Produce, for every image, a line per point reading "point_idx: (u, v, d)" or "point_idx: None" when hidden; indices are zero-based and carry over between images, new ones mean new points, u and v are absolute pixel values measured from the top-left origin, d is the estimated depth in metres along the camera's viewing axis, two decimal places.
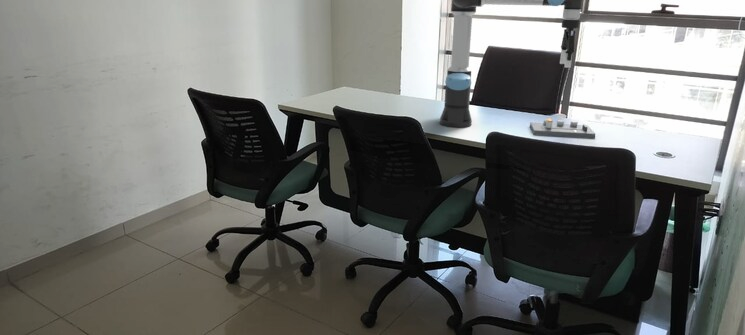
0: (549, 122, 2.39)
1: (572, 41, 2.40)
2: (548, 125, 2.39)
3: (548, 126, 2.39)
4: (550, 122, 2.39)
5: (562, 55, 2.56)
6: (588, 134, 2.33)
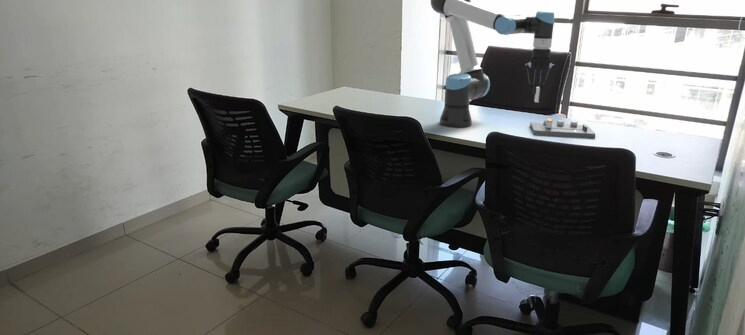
0: (549, 122, 2.39)
1: (528, 75, 2.35)
2: (548, 125, 2.39)
3: (548, 126, 2.39)
4: (550, 122, 2.39)
5: None
6: (588, 134, 2.33)
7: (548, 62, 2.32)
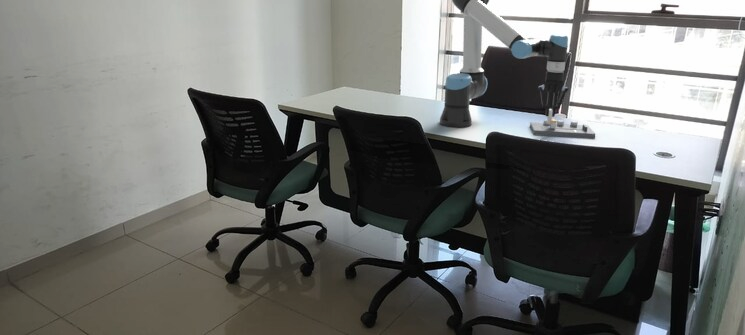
0: (553, 122, 2.38)
1: (541, 97, 2.37)
2: (552, 125, 2.39)
3: (552, 126, 2.39)
4: (554, 122, 2.38)
5: None
6: (588, 134, 2.33)
7: (561, 85, 2.34)
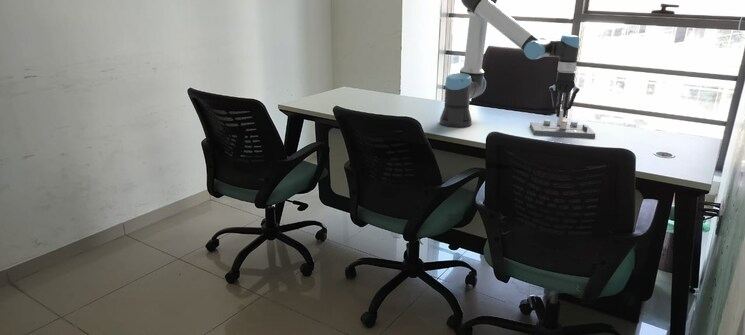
0: (564, 123, 2.38)
1: (552, 98, 2.37)
2: (563, 126, 2.38)
3: (563, 127, 2.38)
4: (565, 123, 2.38)
5: None
6: (588, 134, 2.33)
7: (572, 85, 2.33)
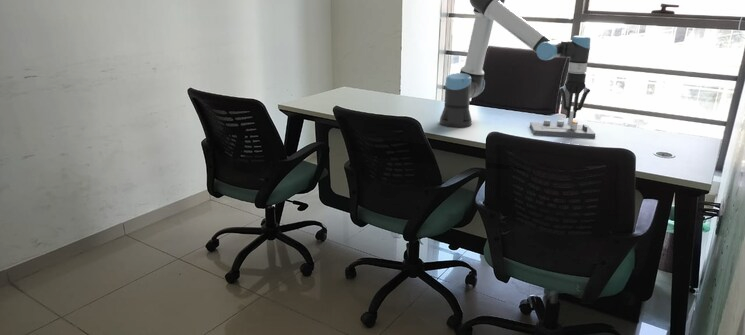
0: (574, 123, 2.37)
1: (562, 98, 2.36)
2: (573, 126, 2.37)
3: (573, 127, 2.38)
4: (575, 123, 2.37)
5: None
6: (588, 134, 2.33)
7: (583, 86, 2.32)
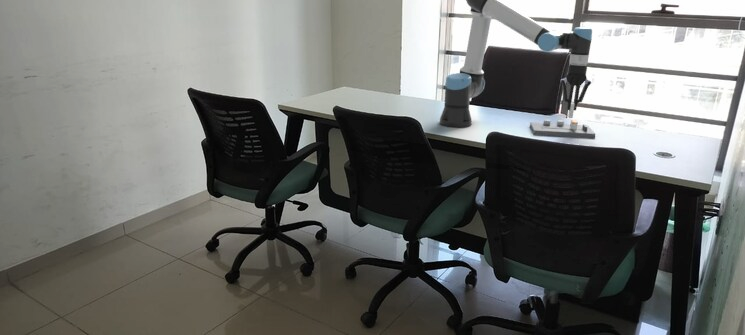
0: (574, 123, 2.37)
1: (563, 90, 2.35)
2: (573, 126, 2.37)
3: (573, 127, 2.38)
4: (575, 123, 2.37)
5: None
6: (588, 134, 2.33)
7: (584, 78, 2.31)
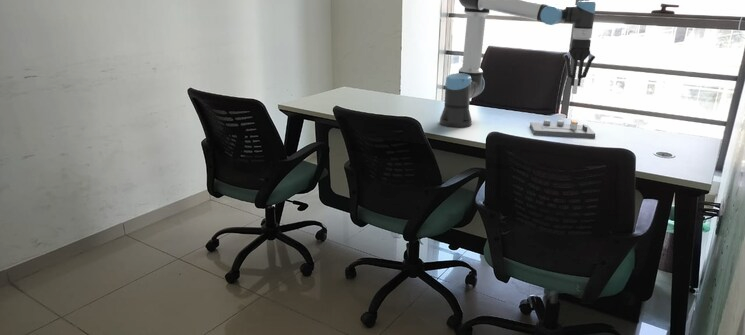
0: (574, 123, 2.37)
1: (566, 66, 2.32)
2: (573, 126, 2.37)
3: (573, 127, 2.38)
4: (575, 123, 2.37)
5: None
6: (588, 134, 2.33)
7: (588, 53, 2.28)
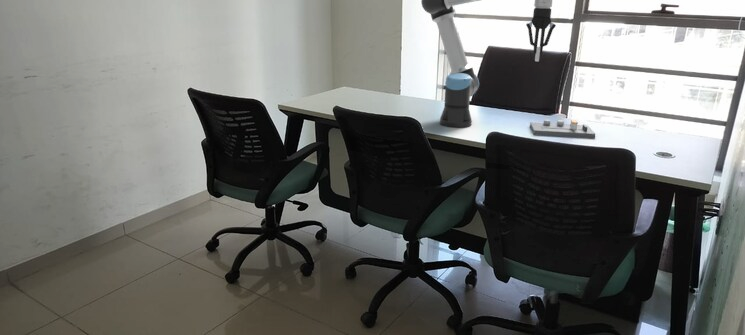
0: (574, 123, 2.37)
1: (529, 34, 2.42)
2: (573, 126, 2.37)
3: (573, 127, 2.38)
4: (575, 123, 2.37)
5: None
6: (588, 134, 2.33)
7: (549, 21, 2.38)
